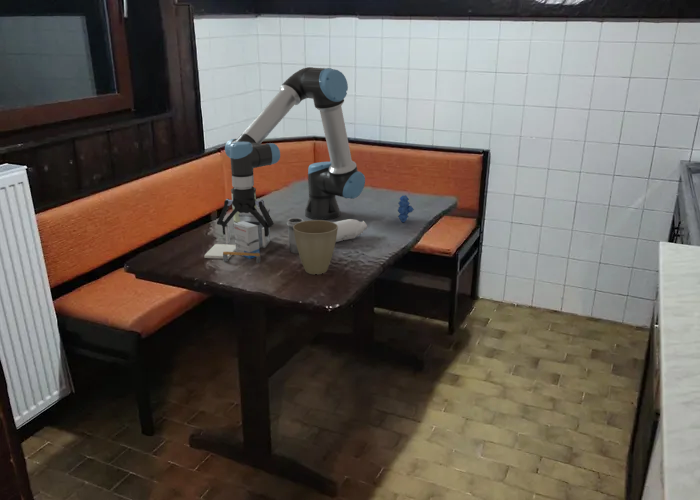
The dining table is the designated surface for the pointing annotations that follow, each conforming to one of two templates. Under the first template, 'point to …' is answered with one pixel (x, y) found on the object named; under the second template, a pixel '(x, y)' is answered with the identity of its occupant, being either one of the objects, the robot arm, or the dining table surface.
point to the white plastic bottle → (349, 229)
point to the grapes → (404, 208)
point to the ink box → (246, 238)
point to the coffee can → (236, 216)
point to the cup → (291, 235)
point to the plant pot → (315, 244)
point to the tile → (220, 251)
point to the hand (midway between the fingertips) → (246, 243)
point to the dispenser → (251, 219)
